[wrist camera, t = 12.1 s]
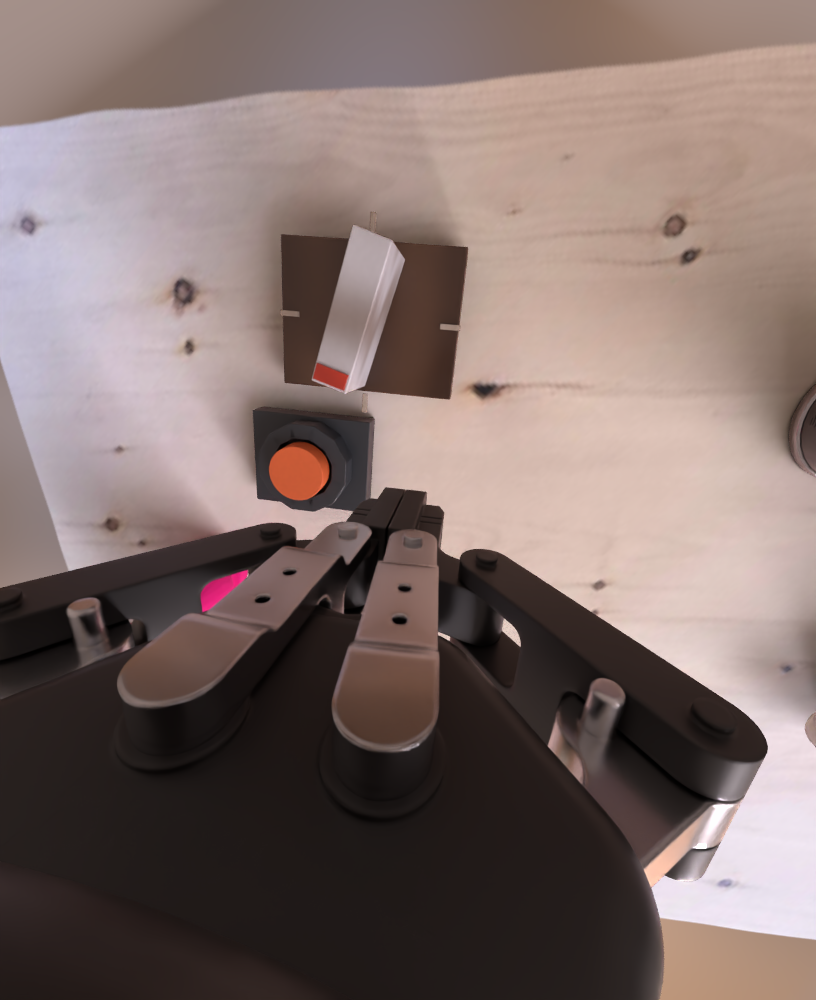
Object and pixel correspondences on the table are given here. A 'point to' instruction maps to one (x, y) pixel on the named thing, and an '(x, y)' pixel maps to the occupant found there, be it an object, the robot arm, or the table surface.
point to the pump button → (299, 470)
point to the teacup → (811, 729)
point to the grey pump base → (338, 441)
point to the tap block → (409, 324)
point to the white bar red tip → (358, 310)
